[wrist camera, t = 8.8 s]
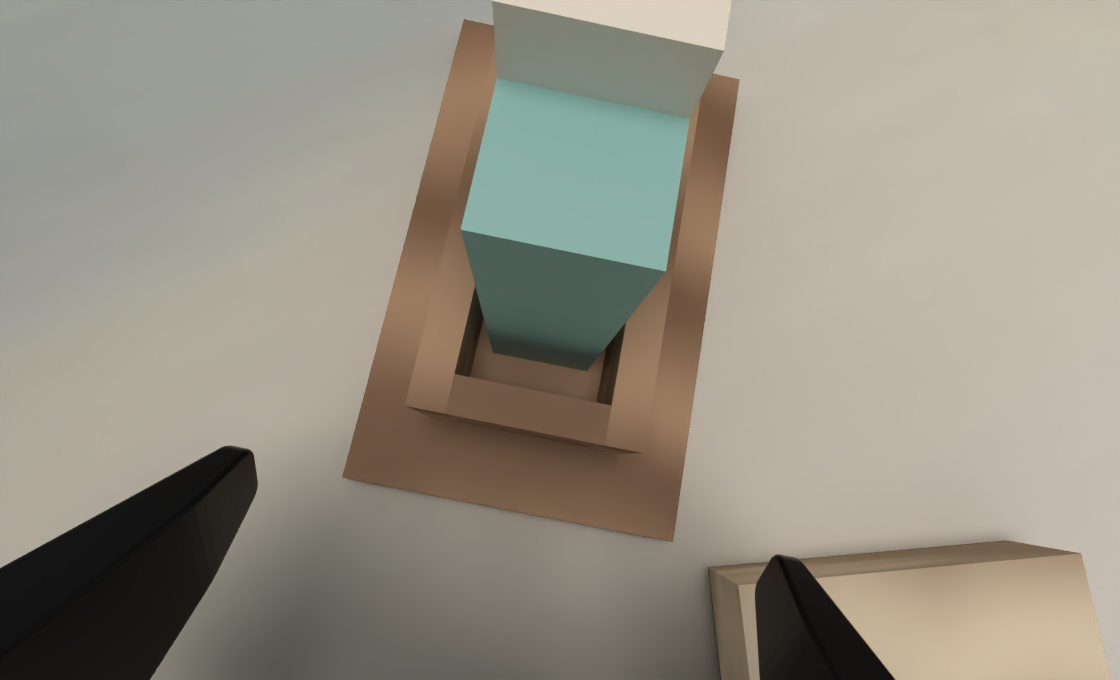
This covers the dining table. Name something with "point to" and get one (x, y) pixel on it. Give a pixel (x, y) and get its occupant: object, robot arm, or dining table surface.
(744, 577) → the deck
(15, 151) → the dining table surface
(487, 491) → the tray
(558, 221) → the teal rectangular box
